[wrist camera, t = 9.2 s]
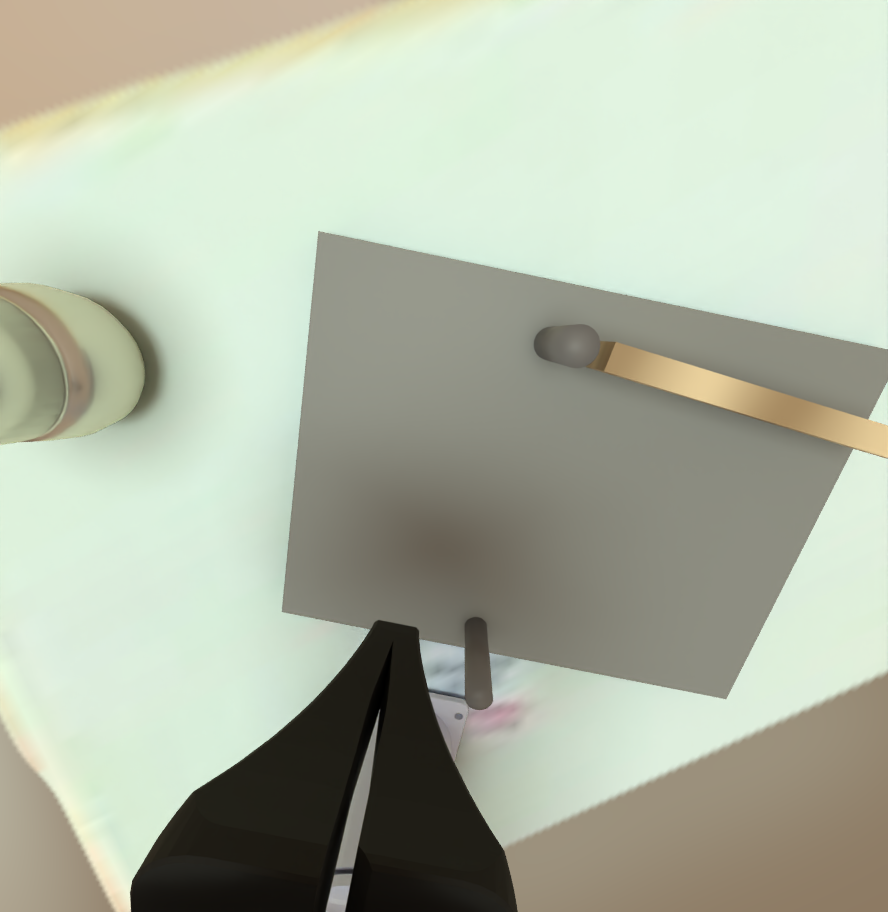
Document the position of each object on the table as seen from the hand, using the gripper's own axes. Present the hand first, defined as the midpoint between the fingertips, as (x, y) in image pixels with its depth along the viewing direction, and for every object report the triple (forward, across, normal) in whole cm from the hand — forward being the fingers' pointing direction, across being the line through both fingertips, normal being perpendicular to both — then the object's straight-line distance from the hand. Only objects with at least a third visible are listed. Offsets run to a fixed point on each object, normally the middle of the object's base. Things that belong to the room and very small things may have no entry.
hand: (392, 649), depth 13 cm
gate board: (+9, -6, -3) cm, 12 cm away
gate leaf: (+8, -12, -9) cm, 17 cm away
